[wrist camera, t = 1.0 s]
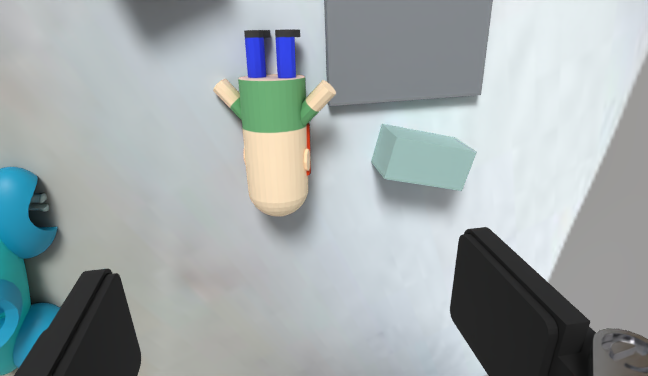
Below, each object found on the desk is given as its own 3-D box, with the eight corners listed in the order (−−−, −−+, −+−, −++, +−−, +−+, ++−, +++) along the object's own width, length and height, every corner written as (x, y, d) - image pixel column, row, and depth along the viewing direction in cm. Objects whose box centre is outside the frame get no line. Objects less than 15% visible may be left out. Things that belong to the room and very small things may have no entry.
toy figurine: (227, 31, 28) (243, 195, 32) (189, 31, 24) (212, 219, 28) (345, 29, 25) (345, 206, 30) (325, 28, 21) (328, 233, 26)
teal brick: (454, 136, 31) (476, 151, 28) (441, 172, 32) (461, 191, 29) (381, 123, 30) (396, 137, 27) (370, 161, 31) (384, 178, 28)
